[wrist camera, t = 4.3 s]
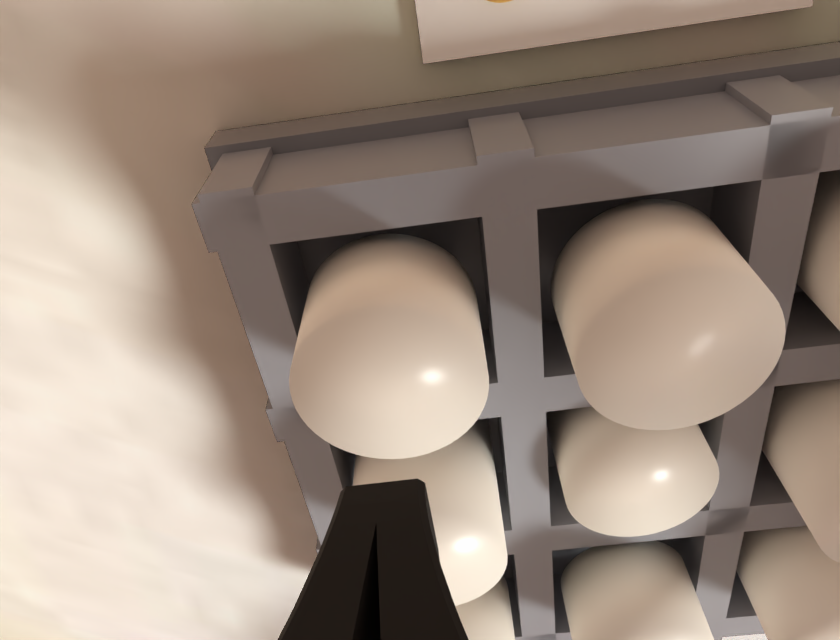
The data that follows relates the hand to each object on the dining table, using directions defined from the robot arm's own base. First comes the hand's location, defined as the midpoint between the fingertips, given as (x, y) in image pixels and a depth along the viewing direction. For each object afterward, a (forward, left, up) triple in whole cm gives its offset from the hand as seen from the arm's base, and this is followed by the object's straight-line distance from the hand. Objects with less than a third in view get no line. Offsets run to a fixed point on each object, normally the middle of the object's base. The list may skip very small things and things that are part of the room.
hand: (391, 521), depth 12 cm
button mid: (-6, +6, -8) cm, 12 cm away
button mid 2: (-6, +12, -6) cm, 15 cm away
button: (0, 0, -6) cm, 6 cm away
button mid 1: (-6, 0, -6) cm, 9 cm away
